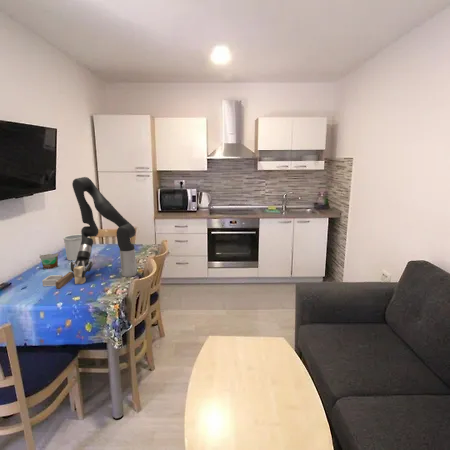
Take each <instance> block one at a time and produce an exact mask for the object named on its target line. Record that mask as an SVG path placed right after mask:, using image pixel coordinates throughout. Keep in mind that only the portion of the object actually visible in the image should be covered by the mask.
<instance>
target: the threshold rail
mask: <svg viewBox="0 0 450 450" xmlns="http://www.w3.org/2000/svg"><path fill="white" fill-rule="evenodd" d="M73 278H74V277H73V272H72V271H69V272H68V273H66V274H65V275H62V278H61V279H59V280H58V281H57V282H56V286H55V288H56V289H57V290H59V289H61V288H62V287H64V286H65V285H66V284H68V283H69V282H70V281H71V280H72V279H73Z"/></svg>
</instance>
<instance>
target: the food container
mask: <svg viewBox="0 0 450 450" xmlns="http://www.w3.org/2000/svg"><path fill="white" fill-rule="evenodd" d="M58 257H59V252H56V253H47V254H39V259H40V261H41V264H42V268H43V269H44V270H52V269H55V268H58V267H59V258H58Z"/></svg>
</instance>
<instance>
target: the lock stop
mask: <svg viewBox="0 0 450 450" xmlns="http://www.w3.org/2000/svg"><path fill="white" fill-rule="evenodd" d="M82 272H83V266H77V267H75V266H74V277H75V278H74V277H73V278H74V284H75V285H82V284H85V283H86V276H85V277H84V278H82V277H81V276H82Z"/></svg>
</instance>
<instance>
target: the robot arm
mask: <svg viewBox="0 0 450 450" xmlns="http://www.w3.org/2000/svg"><path fill="white" fill-rule="evenodd" d="M71 183H72V188H73V189H72V190H73V192H74V194H75V195H74V196H75V198H76V200H77V203H78V207H79V210H80V215H81V221H82V223H83V224H85V225H86V224H87V226H83V227H82V228H81V231H80V233H81V234H82V241H81V245H80V248H79V251H78V255H77V260H74V261H71V262H70V272H73V278H74V279H75V277H74V268H75V267H77V266H83V272H82V276H81V277H82V278H84V277H85V278H86V275H87V272H90V271H91V269H92V267H93V265H94V263H93V261H90V259H91V254H92V248H93V243H94V240H93V238H91V237H97V236H98V235H99V227H98V226H97V223H96V221H95V220H94V218H95V217H94V214H93V210H92V207H91V206H90V204H89V203H88V202H87V199H86V196H85V192H87V193H88V195H90V197H91V199H92V201H93V205H94V208H95V210H96V211H97V212H98V213H99V215H100V216H102V217H103V218H105V219H106V220H108V221H110V222H112V223H113V224H115V226H117V227H118V228H117V229H116V239H117V246H118V248H119V259H120V265H121V267H120V269H121V276H122V277H125V278H129V277H130V278H131V277H136V275H137V274H138V265H137V264H138V262H137V259H136V251H135V250H136V249H135V244H134V243H132V242H131V239H132V238H133V237H135V236H136V228H135V227H134V226H133V225H132V224H131V223H130V222H129V221H128V220H127V219H126V218H125V217H123V215H122V214H121V213H120V212H119V211H118V210H117V209H116V208H115V206H113V204H112V203H111V202H110V201H109V200H108V199H107V198H106V197H105V196H104V195H103V193H102V192H100V190H99V189H98V187H97V185H95V183H94V182H93V181H92V180H91V179H90V178H89V177H86V176H83V177H77V178H75V179H73V180H72V182H71Z"/></svg>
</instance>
